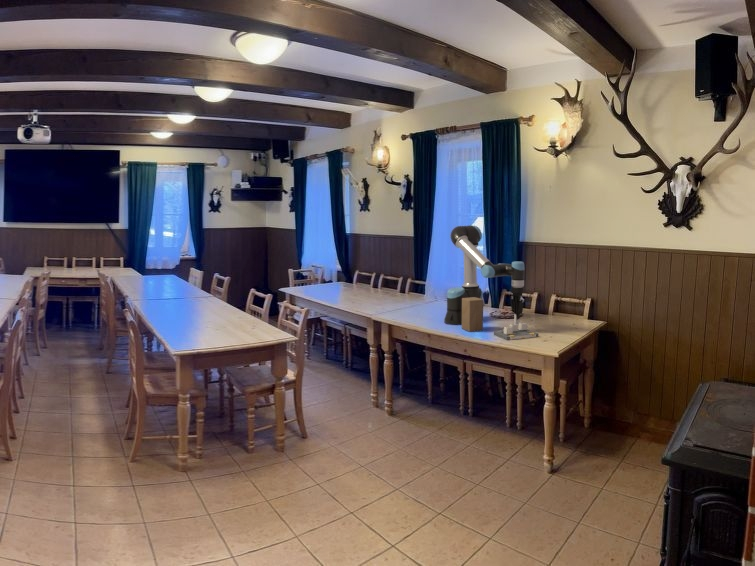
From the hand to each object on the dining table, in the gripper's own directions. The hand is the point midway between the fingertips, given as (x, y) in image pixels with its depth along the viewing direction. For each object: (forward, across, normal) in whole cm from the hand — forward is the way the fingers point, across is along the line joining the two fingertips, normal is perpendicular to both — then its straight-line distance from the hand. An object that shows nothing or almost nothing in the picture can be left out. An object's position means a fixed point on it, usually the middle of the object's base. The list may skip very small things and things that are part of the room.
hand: (516, 324), depth 319 cm
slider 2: (+2, +7, -7) cm, 10 cm away
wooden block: (+5, -15, -23) cm, 28 cm away
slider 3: (+2, +6, 0) cm, 7 cm away
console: (+5, +9, -7) cm, 13 cm away
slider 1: (+2, +12, -14) cm, 18 cm away
